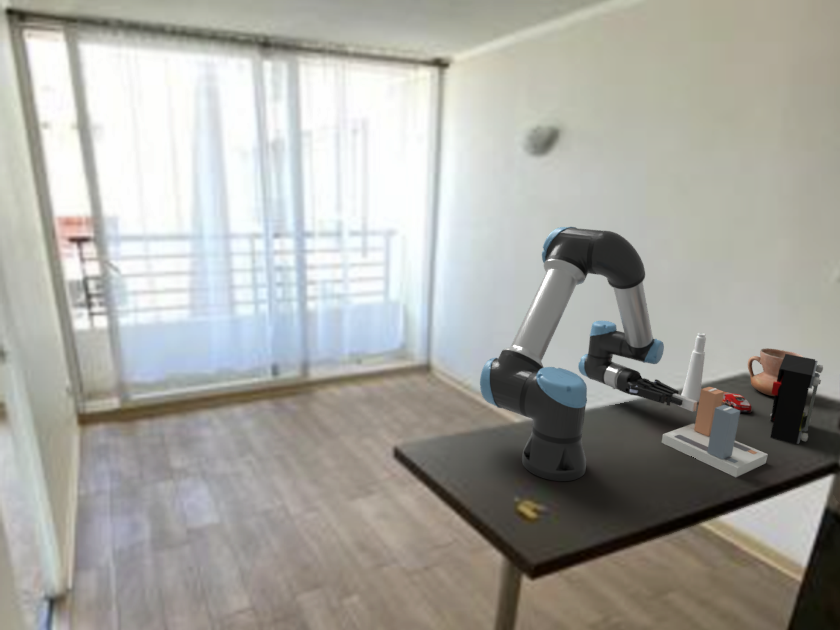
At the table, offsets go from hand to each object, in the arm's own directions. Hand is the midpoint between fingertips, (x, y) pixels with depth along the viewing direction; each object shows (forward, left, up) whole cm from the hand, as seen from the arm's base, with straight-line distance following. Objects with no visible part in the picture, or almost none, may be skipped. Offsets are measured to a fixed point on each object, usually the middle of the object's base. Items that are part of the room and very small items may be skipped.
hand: (695, 406), depth 153 cm
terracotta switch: (+4, -2, -6) cm, 7 cm away
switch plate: (+7, -7, -8) cm, 13 cm away
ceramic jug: (+14, +55, -9) cm, 57 cm away
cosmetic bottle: (-6, +29, -9) cm, 31 cm away
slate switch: (+9, -13, -6) cm, 17 cm away
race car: (+6, +33, -9) cm, 34 cm away
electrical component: (+21, +23, -9) cm, 32 cm away
